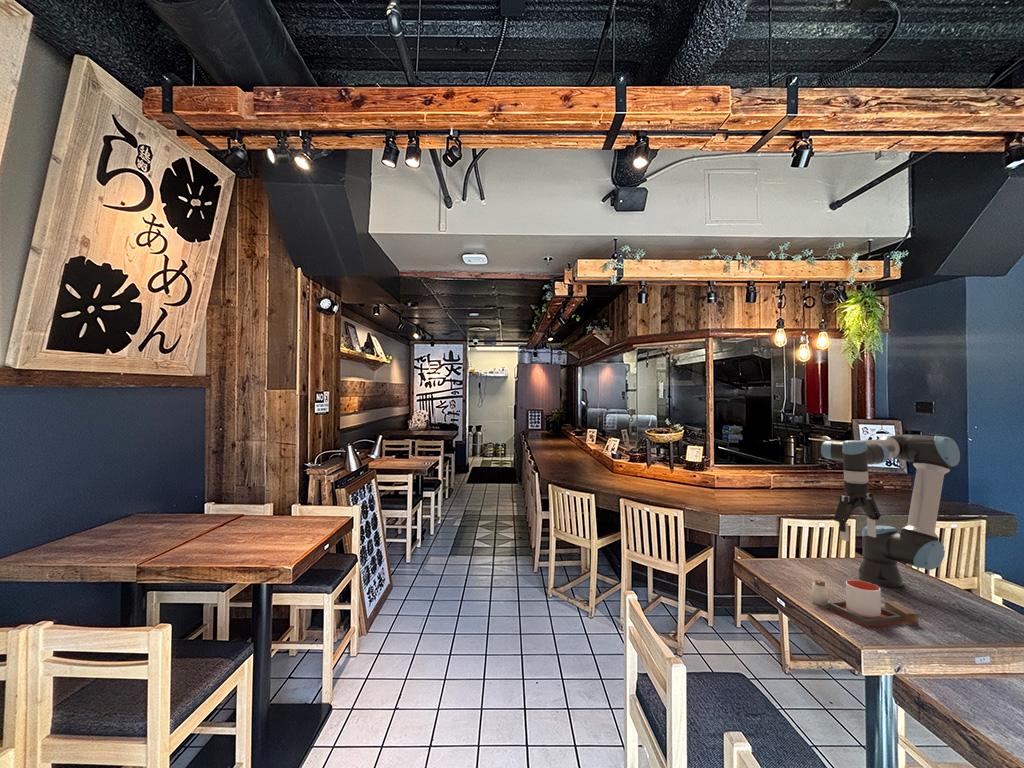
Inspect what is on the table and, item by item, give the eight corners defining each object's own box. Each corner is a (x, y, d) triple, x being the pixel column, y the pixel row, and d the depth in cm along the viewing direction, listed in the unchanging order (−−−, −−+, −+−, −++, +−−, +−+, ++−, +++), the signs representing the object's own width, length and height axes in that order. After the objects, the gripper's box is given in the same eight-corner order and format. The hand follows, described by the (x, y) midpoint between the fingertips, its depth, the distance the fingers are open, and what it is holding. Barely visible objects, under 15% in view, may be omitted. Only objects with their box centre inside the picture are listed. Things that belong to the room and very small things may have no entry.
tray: (859, 605, 178) (859, 598, 178) (901, 623, 163) (901, 616, 163) (827, 609, 174) (827, 602, 174) (867, 628, 159) (867, 620, 160)
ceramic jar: (819, 599, 182) (819, 578, 183) (831, 605, 178) (831, 583, 178) (809, 601, 181) (809, 579, 181) (820, 606, 176) (820, 584, 177)
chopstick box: (896, 612, 172) (896, 601, 172) (918, 625, 162) (918, 613, 162) (885, 612, 172) (884, 601, 172) (906, 625, 162) (906, 613, 162)
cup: (887, 621, 163) (886, 591, 163) (855, 618, 165) (854, 589, 165) (871, 608, 173) (870, 581, 173) (840, 606, 175) (840, 578, 175)
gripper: (870, 477, 185) (872, 532, 185) (821, 482, 178) (823, 539, 178) (890, 480, 178) (893, 537, 178) (840, 486, 171) (842, 545, 171)
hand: (858, 538), depth 178 cm, fingers open, 13 cm apart
